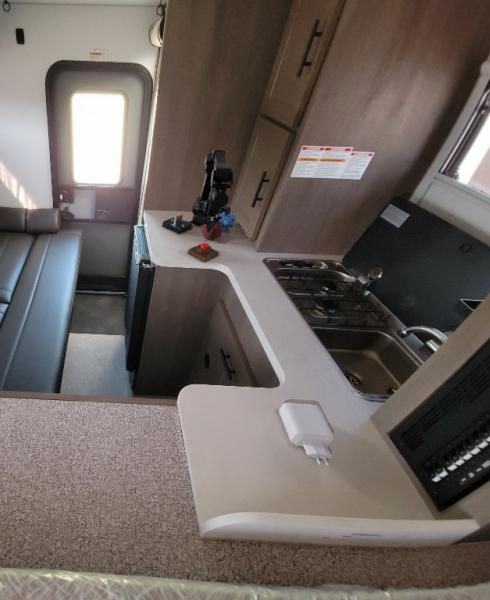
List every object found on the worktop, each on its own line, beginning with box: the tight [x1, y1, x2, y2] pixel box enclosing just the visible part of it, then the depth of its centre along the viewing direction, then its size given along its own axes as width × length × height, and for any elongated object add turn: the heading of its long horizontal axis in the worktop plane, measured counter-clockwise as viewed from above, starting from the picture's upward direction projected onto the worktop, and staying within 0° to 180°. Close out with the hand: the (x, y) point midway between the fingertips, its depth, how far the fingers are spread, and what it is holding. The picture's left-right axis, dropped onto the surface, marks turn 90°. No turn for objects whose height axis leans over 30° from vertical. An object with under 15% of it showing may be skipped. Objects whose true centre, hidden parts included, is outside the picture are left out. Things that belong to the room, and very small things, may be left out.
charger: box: [278, 402, 336, 467], centre depth 82 cm, size 5×9×15 cm
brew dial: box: [173, 213, 184, 224], centre depth 175 cm, size 5×1×4 cm, turn 128°
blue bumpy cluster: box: [219, 210, 237, 232], centre depth 171 cm, size 12×7×12 cm, turn 88°
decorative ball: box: [201, 222, 224, 241], centre depth 165 cm, size 10×10×10 cm
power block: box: [187, 243, 220, 263], centre depth 155 cm, size 10×10×4 cm
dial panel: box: [161, 216, 193, 235], centre depth 177 cm, size 10×12×3 cm
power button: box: [200, 242, 210, 250], centre depth 153 cm, size 4×4×2 cm
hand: (208, 231), depth 148 cm, fingers closed
